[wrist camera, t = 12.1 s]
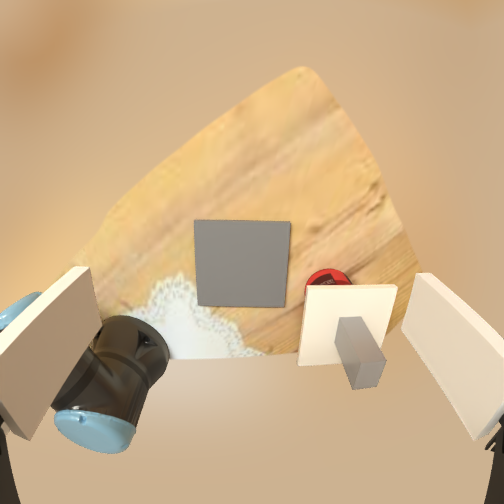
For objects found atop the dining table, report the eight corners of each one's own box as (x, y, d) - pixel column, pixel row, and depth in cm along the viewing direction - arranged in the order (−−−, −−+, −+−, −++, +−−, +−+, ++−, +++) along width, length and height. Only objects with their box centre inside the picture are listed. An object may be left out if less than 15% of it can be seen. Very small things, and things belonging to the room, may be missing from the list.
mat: (198, 302, 48) (197, 305, 47) (194, 219, 43) (193, 221, 42) (283, 304, 48) (284, 307, 47) (289, 221, 43) (290, 222, 43)
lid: (296, 361, 39) (307, 415, 30) (306, 285, 35) (325, 334, 25) (374, 356, 39) (398, 403, 30) (394, 284, 35) (431, 325, 26)
